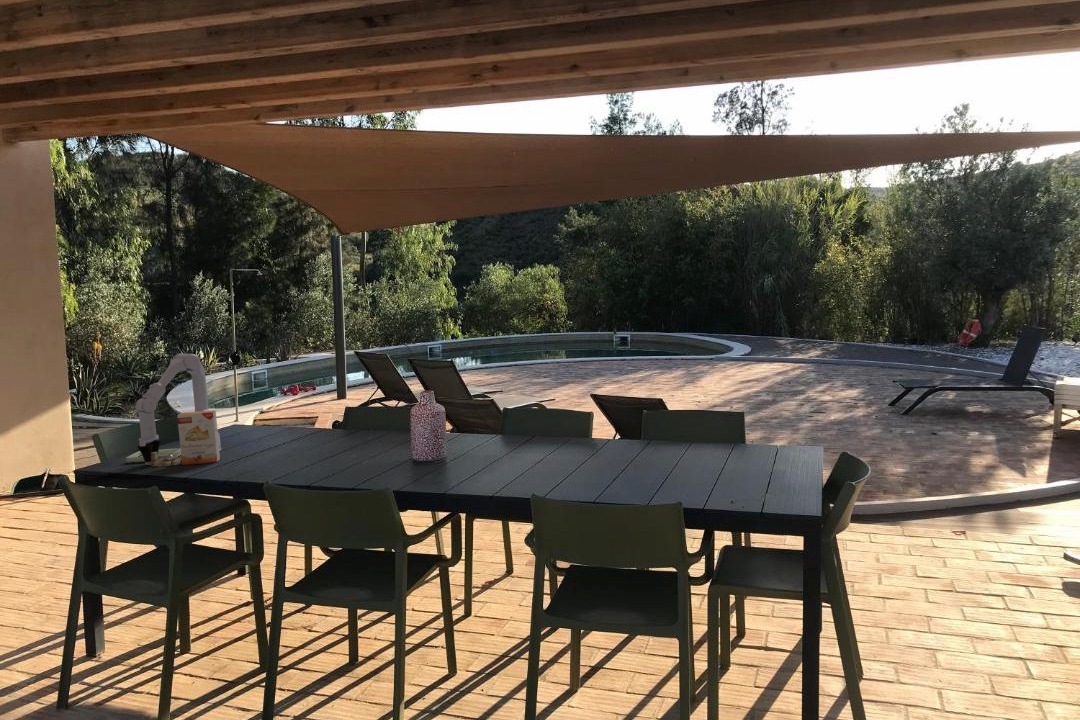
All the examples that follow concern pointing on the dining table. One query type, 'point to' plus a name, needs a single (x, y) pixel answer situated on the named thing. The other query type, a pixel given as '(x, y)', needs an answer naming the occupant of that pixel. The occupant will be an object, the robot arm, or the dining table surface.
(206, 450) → the cracker box
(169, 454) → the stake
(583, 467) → the dining table surface
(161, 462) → the tan joined block frame
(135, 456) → the tray
